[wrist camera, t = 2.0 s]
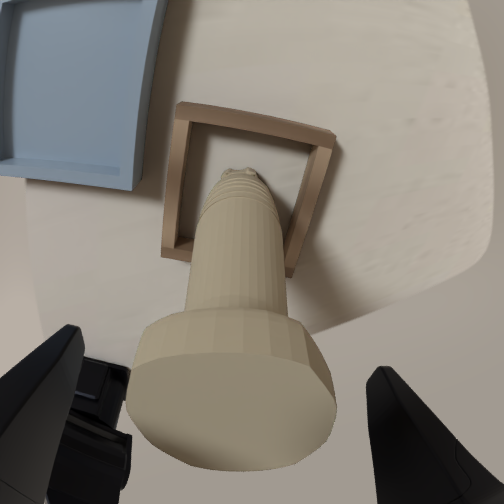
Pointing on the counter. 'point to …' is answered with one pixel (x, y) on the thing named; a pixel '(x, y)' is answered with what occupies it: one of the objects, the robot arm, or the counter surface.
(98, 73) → the tray
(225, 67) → the counter surface
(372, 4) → the counter surface
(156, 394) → the handle
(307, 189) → the brown square frame
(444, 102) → the counter surface
